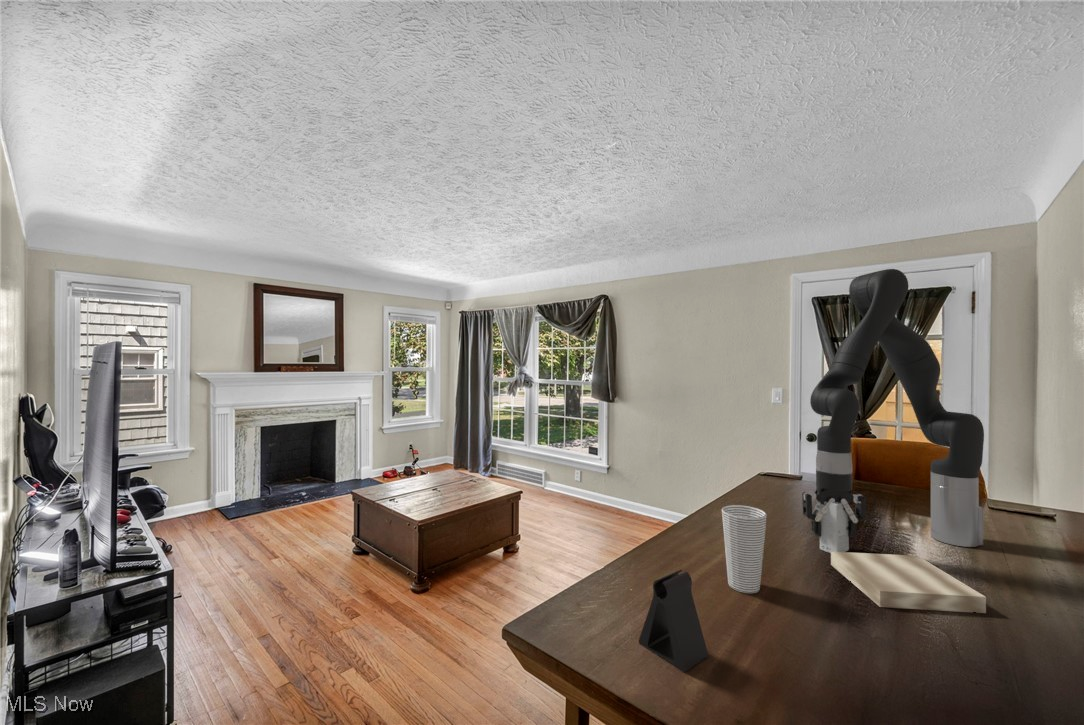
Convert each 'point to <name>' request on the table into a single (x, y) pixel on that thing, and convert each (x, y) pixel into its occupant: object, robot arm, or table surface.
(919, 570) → the base block
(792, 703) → the table surface
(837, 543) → the skincare box
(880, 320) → the robot arm
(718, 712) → the table surface
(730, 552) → the cup
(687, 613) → the phone stand
